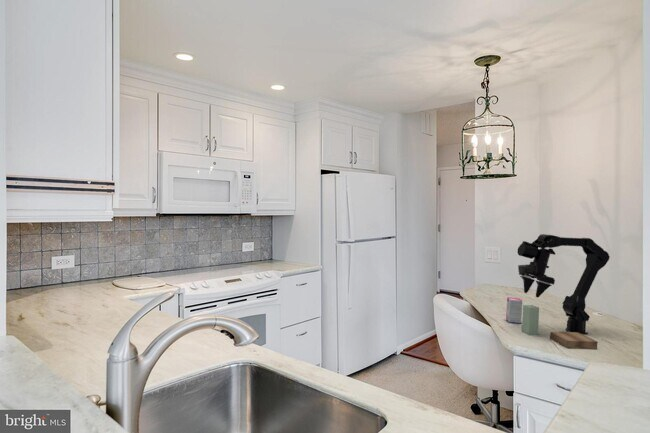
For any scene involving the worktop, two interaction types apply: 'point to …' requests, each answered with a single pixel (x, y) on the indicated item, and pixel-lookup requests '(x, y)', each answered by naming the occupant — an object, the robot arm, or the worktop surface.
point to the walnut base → (573, 340)
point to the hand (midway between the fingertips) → (531, 295)
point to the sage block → (530, 319)
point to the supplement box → (514, 310)
